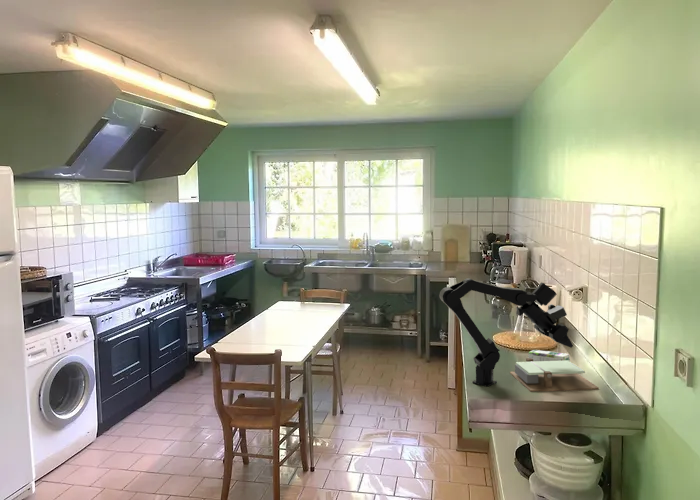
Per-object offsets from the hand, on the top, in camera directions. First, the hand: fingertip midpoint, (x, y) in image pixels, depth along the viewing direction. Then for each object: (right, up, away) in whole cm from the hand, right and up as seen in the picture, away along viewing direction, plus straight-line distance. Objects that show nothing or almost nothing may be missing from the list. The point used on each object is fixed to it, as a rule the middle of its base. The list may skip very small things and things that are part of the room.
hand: (566, 343), depth 198 cm
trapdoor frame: (-5, -14, +1) cm, 15 cm away
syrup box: (-6, -10, +22) cm, 25 cm away
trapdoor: (-6, -12, +1) cm, 14 cm away
